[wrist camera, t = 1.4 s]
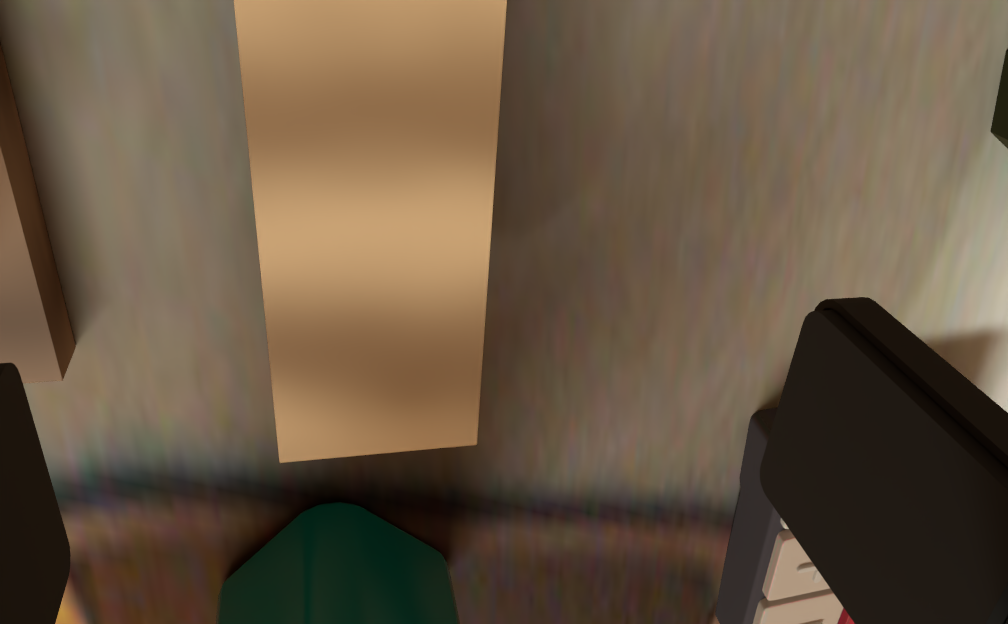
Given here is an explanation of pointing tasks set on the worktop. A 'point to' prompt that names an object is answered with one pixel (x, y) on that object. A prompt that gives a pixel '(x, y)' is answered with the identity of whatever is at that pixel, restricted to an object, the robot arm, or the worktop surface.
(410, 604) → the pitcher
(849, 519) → the robot arm
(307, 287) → the wooden block
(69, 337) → the peg stand
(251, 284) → the worktop surface
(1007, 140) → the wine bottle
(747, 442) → the calculator
